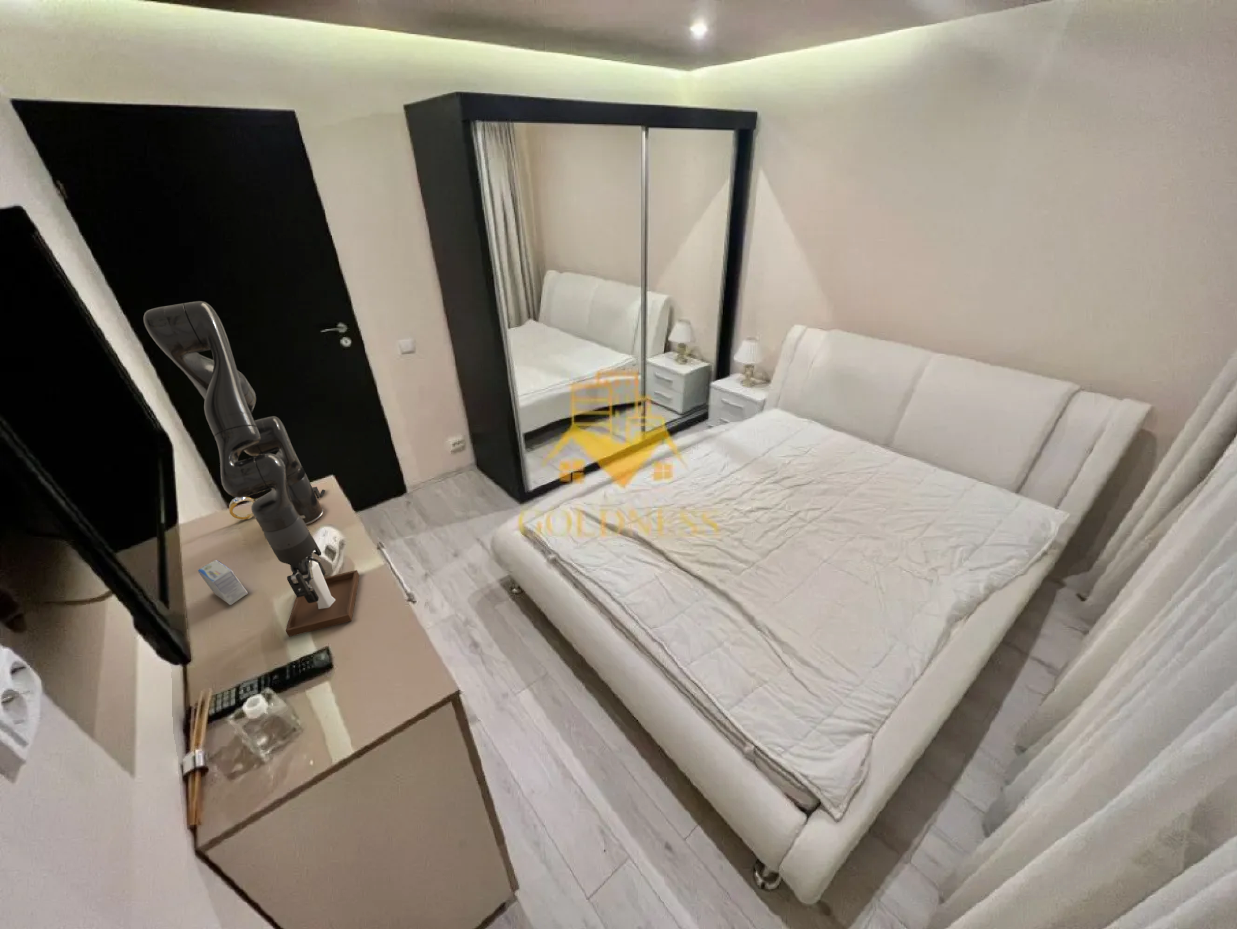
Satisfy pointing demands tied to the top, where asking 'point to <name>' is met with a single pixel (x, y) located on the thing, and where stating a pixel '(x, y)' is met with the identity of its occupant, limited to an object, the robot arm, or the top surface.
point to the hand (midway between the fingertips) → (317, 587)
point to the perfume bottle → (320, 587)
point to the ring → (236, 504)
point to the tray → (339, 612)
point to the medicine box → (222, 582)
